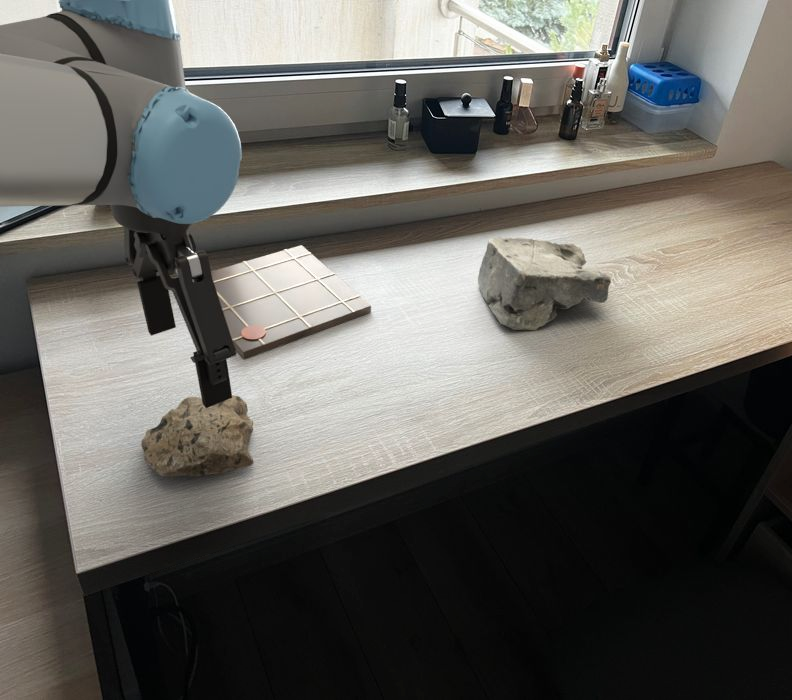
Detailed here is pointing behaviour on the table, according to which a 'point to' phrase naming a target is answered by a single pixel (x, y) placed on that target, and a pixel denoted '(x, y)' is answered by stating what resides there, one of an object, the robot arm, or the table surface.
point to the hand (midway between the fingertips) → (188, 363)
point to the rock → (200, 439)
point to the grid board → (282, 299)
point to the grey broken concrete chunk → (536, 280)
